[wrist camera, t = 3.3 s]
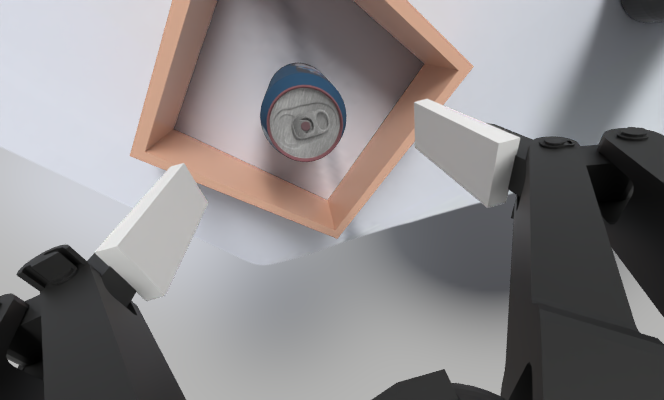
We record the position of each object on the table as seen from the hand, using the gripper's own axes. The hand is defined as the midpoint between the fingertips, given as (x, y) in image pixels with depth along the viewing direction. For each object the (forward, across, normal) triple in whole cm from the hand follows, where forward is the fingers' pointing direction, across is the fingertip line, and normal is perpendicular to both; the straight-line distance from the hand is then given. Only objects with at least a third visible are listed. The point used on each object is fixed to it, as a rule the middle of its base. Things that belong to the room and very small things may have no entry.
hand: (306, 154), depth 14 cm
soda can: (+18, 0, 0) cm, 18 cm away
